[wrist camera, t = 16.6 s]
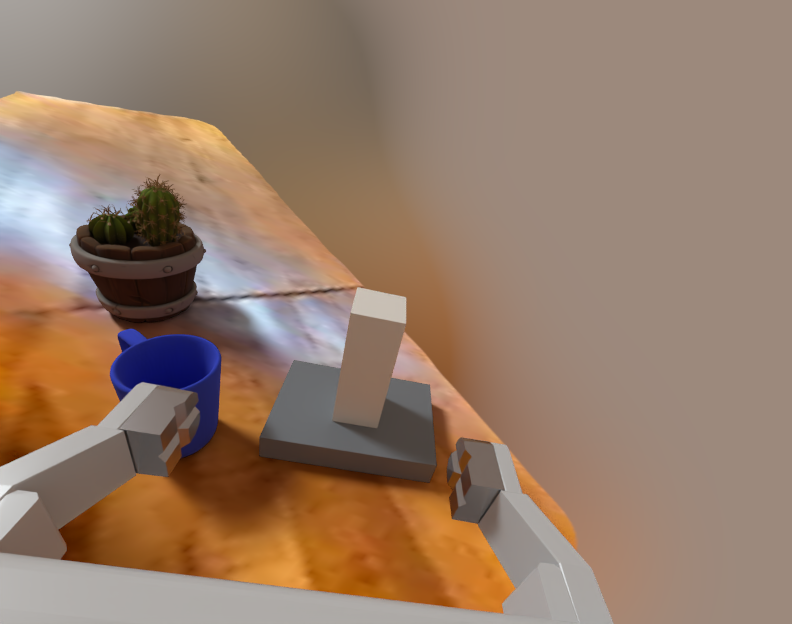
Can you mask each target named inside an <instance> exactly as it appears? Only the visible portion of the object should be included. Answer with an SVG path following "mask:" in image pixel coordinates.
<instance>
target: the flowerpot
mask: <svg viewBox="0 0 792 624" xmlns="http://www.w3.org/2000/svg"><path fill="white" fill-rule="evenodd" d="M159 176H160V175H159ZM159 176H158V178H157V182H156V180H155V182H154V181H153V180H151V179H150V178H148V180H149V179H150V180H151V181H153V182H154V183H155V185H156V186H155V185H154V183H152V184H153V185H152V184H151V183H150V182H149V183H150V185H149V184H147V183H146V182H147V181H146V182H145V183H146V184H147V186H148V187H147V186H146V187H145V189H144V190H143V191H140V190H139V189H138V193H139V194H140V195H139V194H137V196H138V195H139V197H138V199H136V200H135V199H134V200H132V202H133V201H134V202H133V204H134V203H136V204H137V205H136V204H135V206H134V205H133V204H132V203H131V204H132V205H131V204H130V206H133V208H130V209H129V210H128V209H127V211H128V214H125V215H124V214H123V213H122V212H121V213H122V214H123V215H121V216H119V215H117V214H119V212H120V211H121V208H120V211H118V212H117V214H116V210H115V212H114V213H115V214H114V213H112V212H111V211H110V210H109V209H108V211H107V209H106V208H105V207H104V208H105V209H106V210H105V209H103V210H104V212H103V213H102V212H101V211H100V210H99V211H100V212H101V213H102V215H99V214H98V215H99V216H98V217H96V218H94V219H92V220H91V218H92V215H93V214H94V213H93V214H92V215H91V217H90V220H89V219H88V220H87V222H88V221H89V225H83V226H80V227H79V228H78V229H77V231H76V235H75V236H74V237H73V238H72V240H71V243H70V244H69V246H70V248H71V253H72V256H73V258H74V260H75V262H76V263H77V264H78V265H79V266H80V267H81V268H82V269H84V270H86V271H88V273H89V274H90V276H91V278H92V279H93V281H94V282H95V284H96V286H97V289H96V295H97V298H98V299H99V301H100V302H101V304H102V305H103V307H104V308H105V309H106V310H107V311H109V312H110V313H112V314H114V315H115V316H117V317H119V318H121V319H125V320H127V321H130V322H144V321H145V320H146V321H147V322H154V321H160V320H165V319H168V318H171V317H173V316H175V315H178V314H179V313H180V312H181V311H185V310H186V309H187V308H188V307H189V305H190V304H191V303H192V302H193V300H194V298H195V295H197V293H198V292H197V290H196V288H197V286H196V283H195V282H194V276H195V272H196V266H197V264H199V263H200V262H201V260H202V259H203V255H204V253H205V252H206V250H205V249H204V247H203V244H202V241H201V240H200V238H199V237H198V236H197V235H195V234H194V233H193V231H192V229H191V228H190V227H188V226H186V225H184V224H181V223H182V222H179V221H180V219H181V220H182V219H183V220H184V219H185V218H184V216H183V215H182V214H181V213H180V212H179V211H180V210H179V209H181V210H182V208H181V206H182V205H185V204H184V203H183V204H181V203H180V202H179V201H177V200H179V198H178V196H177V198H178V199H177V198H175V197H176V196H175V195H174V194H173V193H174V192H173V189H170V190H172V191H171V193H172V192H173V193H172V194H171V193H170V192H169V191H170V190H169V188H170V187H171V186H172V185H171V186H165V183H164V182H162V183H161V184H159V183H158V179H159ZM146 178H147V177H146ZM165 182H167V181H165ZM146 184H145V185H146ZM158 184H159V186H158ZM151 185H152V186H151ZM161 185H164V186H161ZM140 186H143V185H140ZM140 186H139V187H140ZM162 187H163V188H162ZM165 187H166V188H167V187H168V189H167V190H166V188H165ZM146 188H147V189H146ZM133 190H134V189H133ZM141 190H142V189H141ZM136 191H137V190H136ZM136 191H134V192H136ZM135 194H136V193H135ZM176 194H179V193H176ZM133 195H134V194H133ZM182 197H183V196H182ZM182 197H181V198H182ZM133 198H134V197H133ZM181 198H180V199H181ZM176 199H177V200H176ZM183 201H184V200H183ZM127 202H128V201H127ZM179 203H180V204H179ZM128 204H129V203H128ZM109 205H110V204H109ZM126 205H127V204H126ZM101 206H102V205H101ZM136 206H137V207H136ZM108 207H109V206H108ZM113 207H114V206H113ZM182 207H183V206H182ZM109 208H110V207H109ZM126 208H127V207H126ZM95 209H96V208H95ZM114 209H115V208H114ZM97 210H98V209H97ZM185 210H186V209H185ZM105 211H106V212H107V213H108V214H107V213H106V214H104V213H105ZM109 212H111V213H112V214H109ZM183 212H184V211H183ZM183 212H182V213H183ZM95 213H96V212H95ZM96 214H97V213H96ZM184 214H185V213H184ZM182 217H183V218H182ZM183 220H182V221H183ZM184 221H185V220H184ZM184 221H183V222H184Z"/></svg>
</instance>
